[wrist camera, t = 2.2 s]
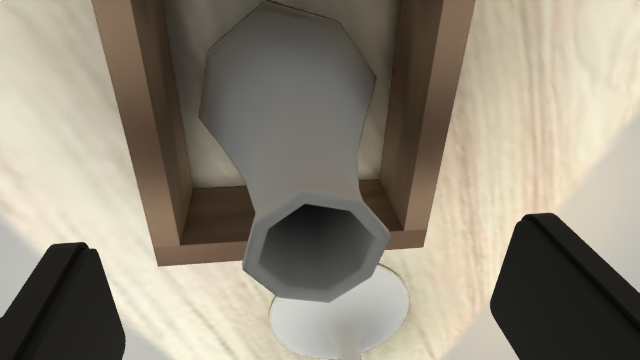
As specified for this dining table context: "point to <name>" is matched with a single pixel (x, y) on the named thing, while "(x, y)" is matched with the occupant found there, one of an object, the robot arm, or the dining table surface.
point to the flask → (296, 149)
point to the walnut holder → (234, 202)
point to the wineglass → (342, 319)
